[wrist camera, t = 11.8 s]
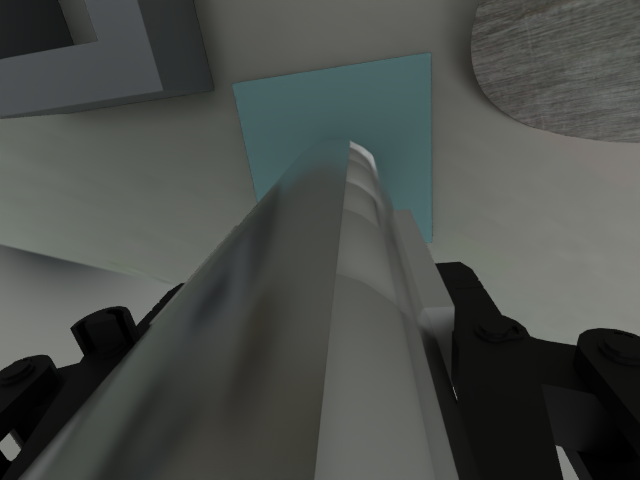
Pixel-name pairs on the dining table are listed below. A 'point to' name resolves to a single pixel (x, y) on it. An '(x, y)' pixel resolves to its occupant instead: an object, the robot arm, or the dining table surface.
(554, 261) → the dining table surface
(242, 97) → the teal mat
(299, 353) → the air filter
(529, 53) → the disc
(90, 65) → the grey hollow square block
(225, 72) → the dining table surface
